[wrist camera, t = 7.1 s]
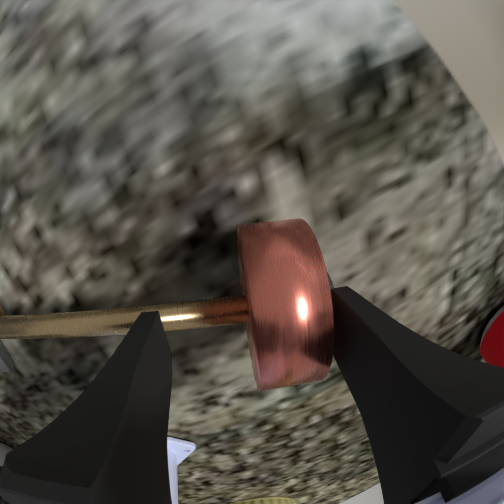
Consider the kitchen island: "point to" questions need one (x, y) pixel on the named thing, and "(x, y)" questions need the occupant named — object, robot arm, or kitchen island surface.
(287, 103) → the kitchen island surface
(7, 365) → the gray bracket
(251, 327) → the copper knob on rod
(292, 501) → the potted cactus
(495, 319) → the beverage can
